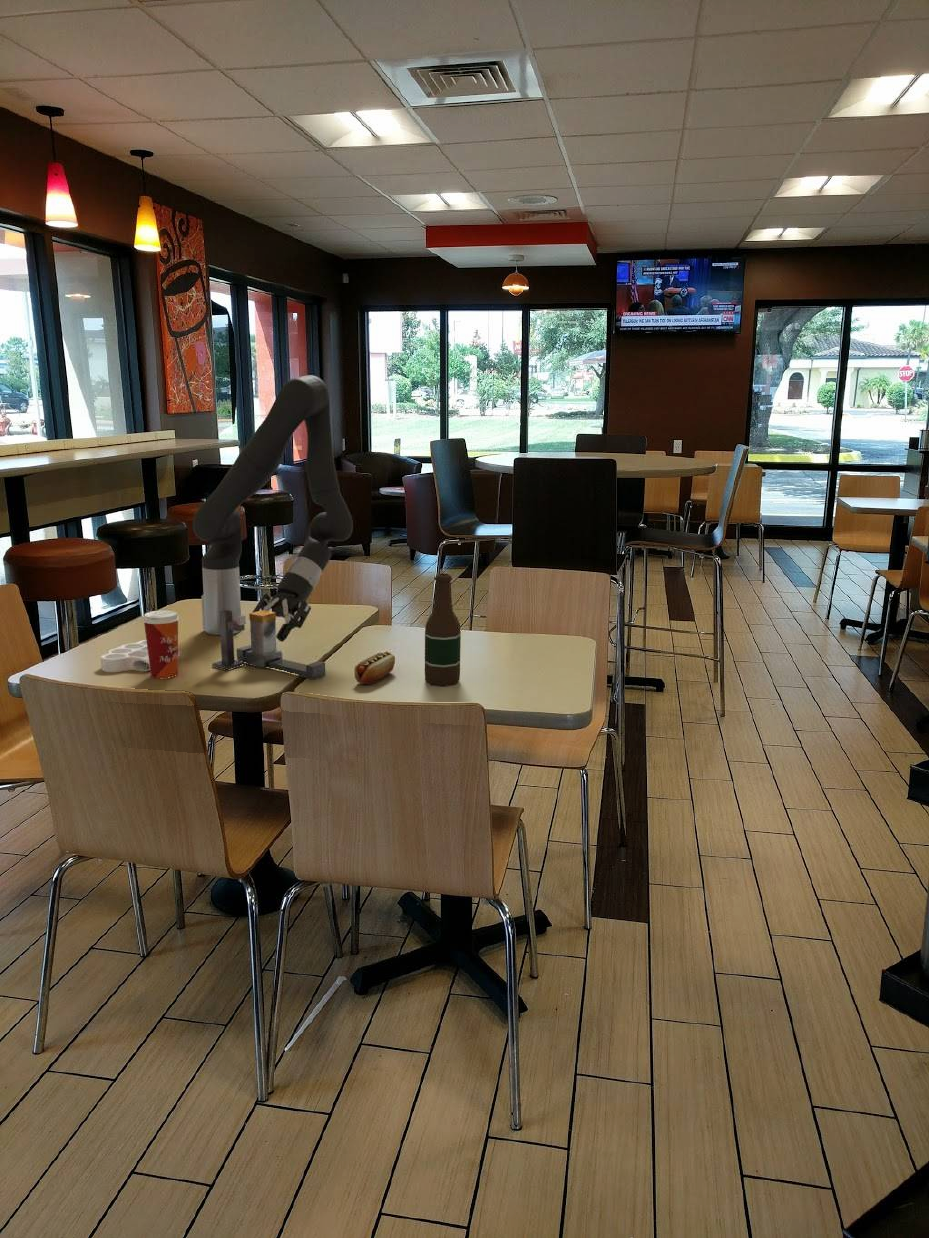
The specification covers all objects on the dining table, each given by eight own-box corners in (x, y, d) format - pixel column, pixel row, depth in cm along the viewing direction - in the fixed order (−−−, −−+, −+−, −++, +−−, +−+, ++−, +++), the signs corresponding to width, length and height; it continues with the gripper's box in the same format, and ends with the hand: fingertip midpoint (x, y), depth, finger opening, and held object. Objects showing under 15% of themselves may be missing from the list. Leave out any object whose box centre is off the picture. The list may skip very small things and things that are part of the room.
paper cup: (171, 681, 199) (167, 618, 196) (139, 678, 200) (135, 616, 197) (189, 671, 206) (185, 610, 203) (158, 668, 208) (154, 608, 205)
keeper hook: (212, 666, 210) (209, 611, 207) (229, 661, 214) (226, 607, 211) (236, 673, 206) (234, 616, 203) (253, 667, 210) (251, 612, 207)
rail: (237, 661, 215) (236, 648, 214) (249, 657, 218) (249, 645, 217) (313, 679, 202) (312, 666, 201) (325, 675, 205) (325, 662, 204)
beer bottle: (423, 676, 206) (424, 571, 200) (458, 676, 206) (460, 571, 201) (425, 687, 198) (425, 578, 192) (461, 686, 199) (463, 578, 193)
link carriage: (246, 663, 212) (243, 613, 209) (264, 658, 216) (262, 609, 214) (264, 668, 209) (262, 617, 206) (282, 662, 213) (280, 612, 210)
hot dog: (400, 672, 208) (400, 651, 207) (371, 689, 197) (371, 666, 195) (380, 669, 210) (380, 648, 209) (351, 686, 199) (350, 663, 197)
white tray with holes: (141, 677, 203) (86, 671, 207) (188, 656, 219) (136, 650, 224) (140, 663, 202) (84, 656, 206) (187, 643, 219) (135, 637, 223)
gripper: (270, 567, 219) (235, 623, 213) (313, 574, 212) (279, 632, 205) (286, 585, 225) (253, 640, 218) (330, 593, 217) (296, 650, 211)
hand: (266, 636), depth 212 cm, fingers open, 8 cm apart
